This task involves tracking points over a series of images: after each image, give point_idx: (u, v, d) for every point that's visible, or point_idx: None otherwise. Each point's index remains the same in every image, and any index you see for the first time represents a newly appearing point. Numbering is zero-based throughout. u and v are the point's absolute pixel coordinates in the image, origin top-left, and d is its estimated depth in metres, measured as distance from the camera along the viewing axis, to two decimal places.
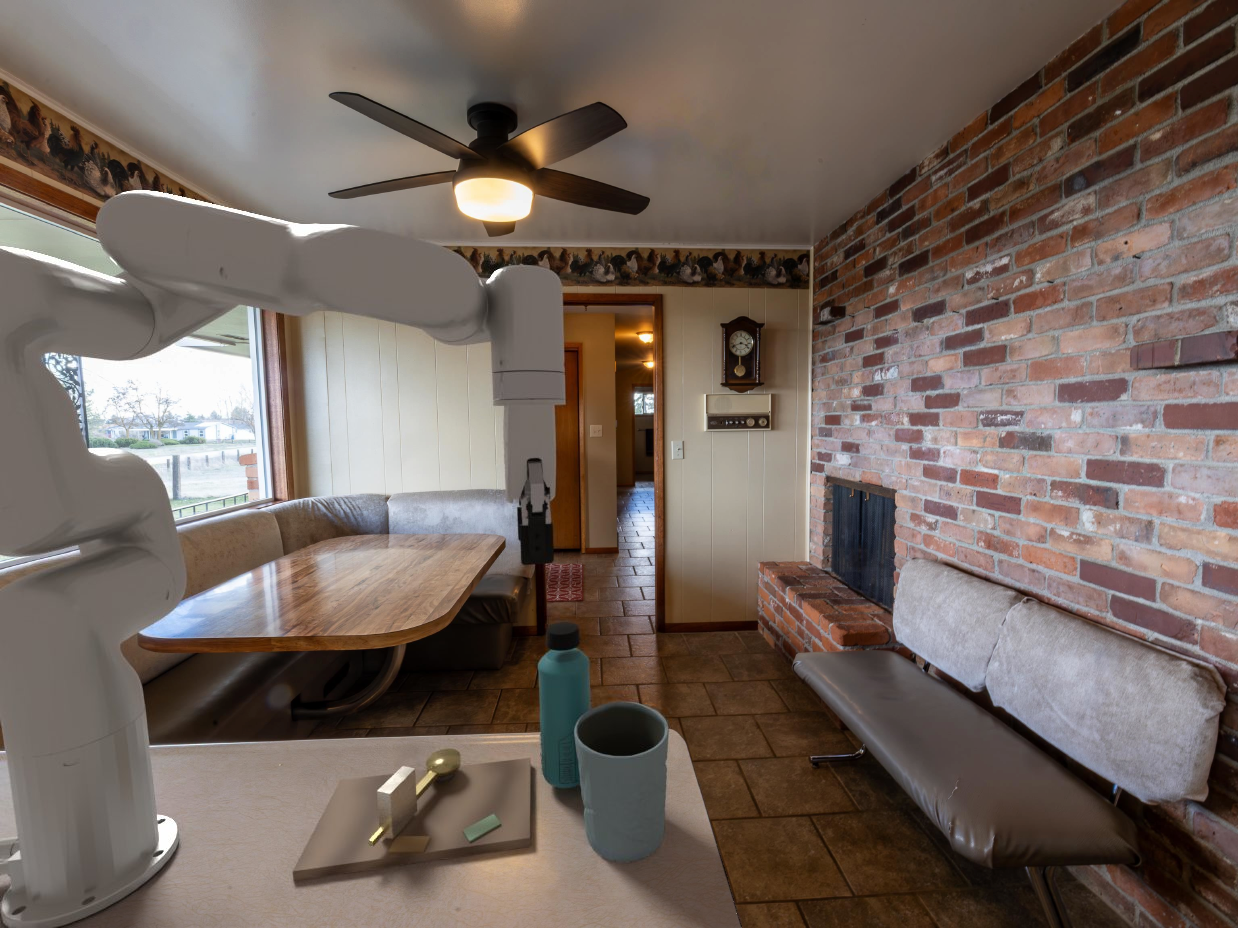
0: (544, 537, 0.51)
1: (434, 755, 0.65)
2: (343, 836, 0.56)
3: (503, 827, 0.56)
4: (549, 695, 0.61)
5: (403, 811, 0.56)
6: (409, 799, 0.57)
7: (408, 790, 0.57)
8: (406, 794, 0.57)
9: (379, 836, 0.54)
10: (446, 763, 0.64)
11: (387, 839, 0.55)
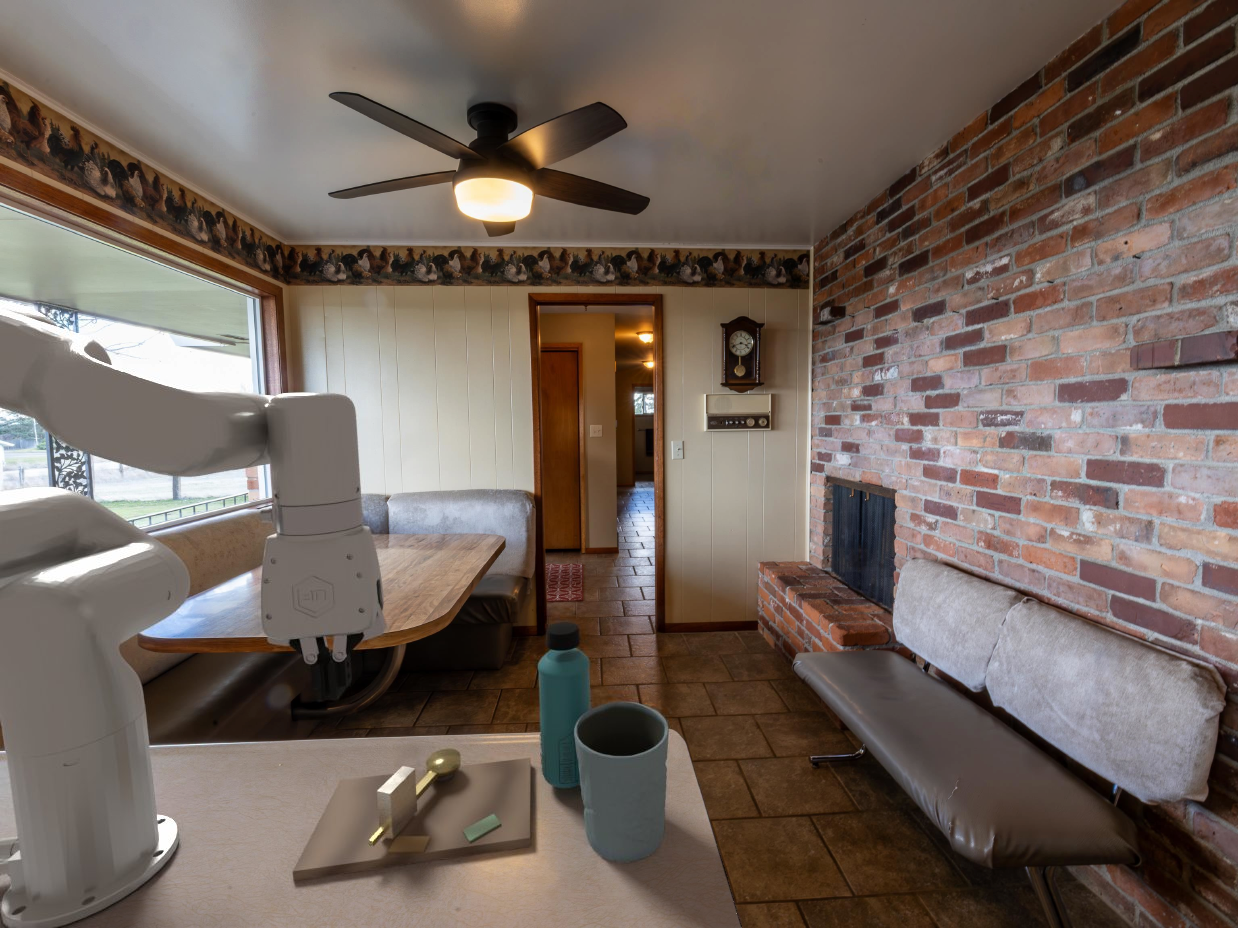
0: (350, 663, 0.55)
1: (434, 755, 0.65)
2: (343, 836, 0.56)
3: (503, 827, 0.56)
4: (549, 695, 0.61)
5: (403, 811, 0.56)
6: (409, 799, 0.57)
7: (408, 790, 0.57)
8: (406, 794, 0.57)
9: (379, 836, 0.54)
10: (446, 763, 0.64)
11: (387, 839, 0.55)
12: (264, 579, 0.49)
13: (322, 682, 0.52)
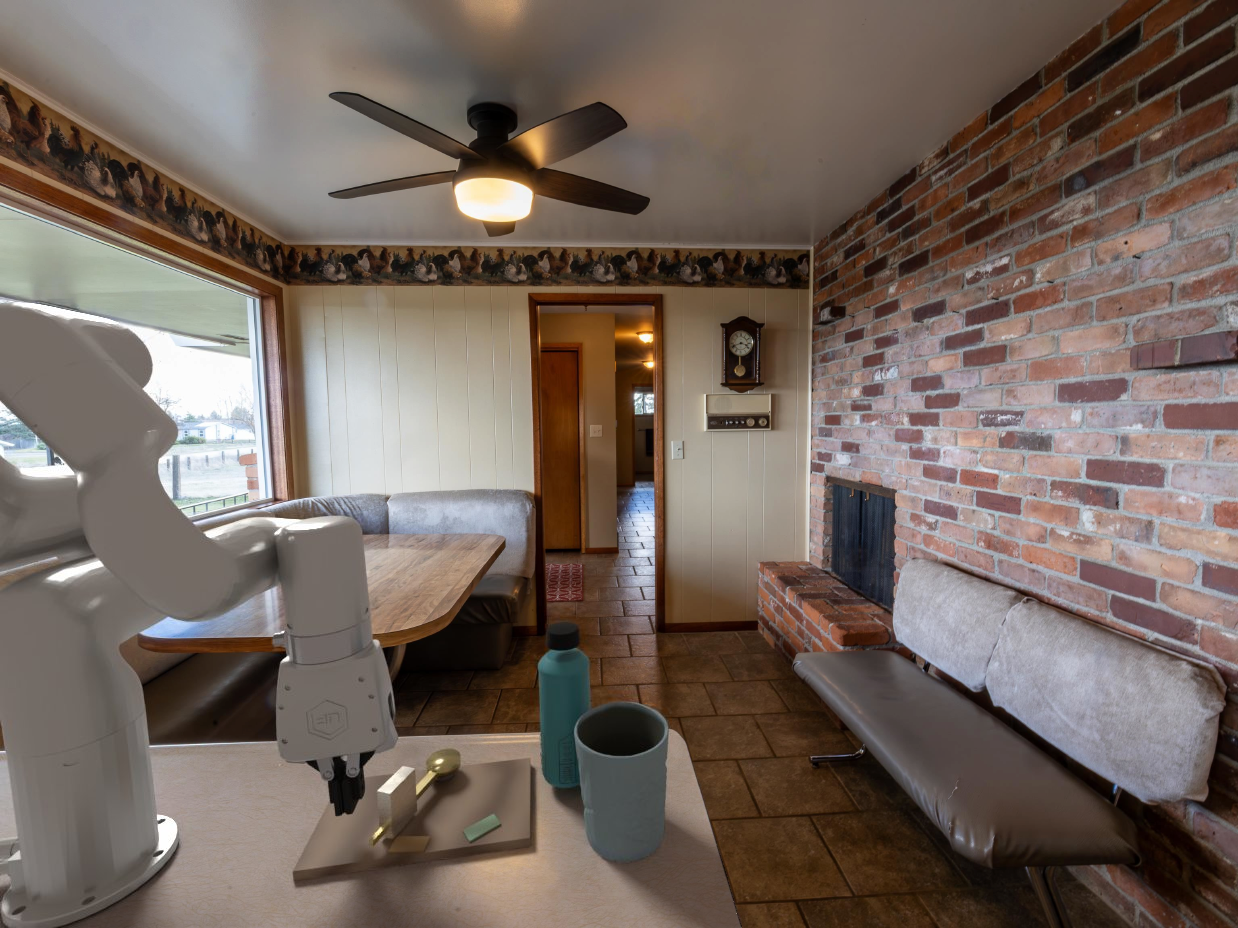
0: (363, 774, 0.56)
1: (434, 755, 0.65)
2: (343, 836, 0.56)
3: (503, 827, 0.56)
4: (549, 695, 0.61)
5: (403, 811, 0.56)
6: (409, 799, 0.57)
7: (408, 790, 0.57)
8: (406, 794, 0.57)
9: (379, 836, 0.54)
10: (446, 763, 0.64)
11: (387, 839, 0.55)
12: (279, 705, 0.51)
13: (339, 797, 0.53)
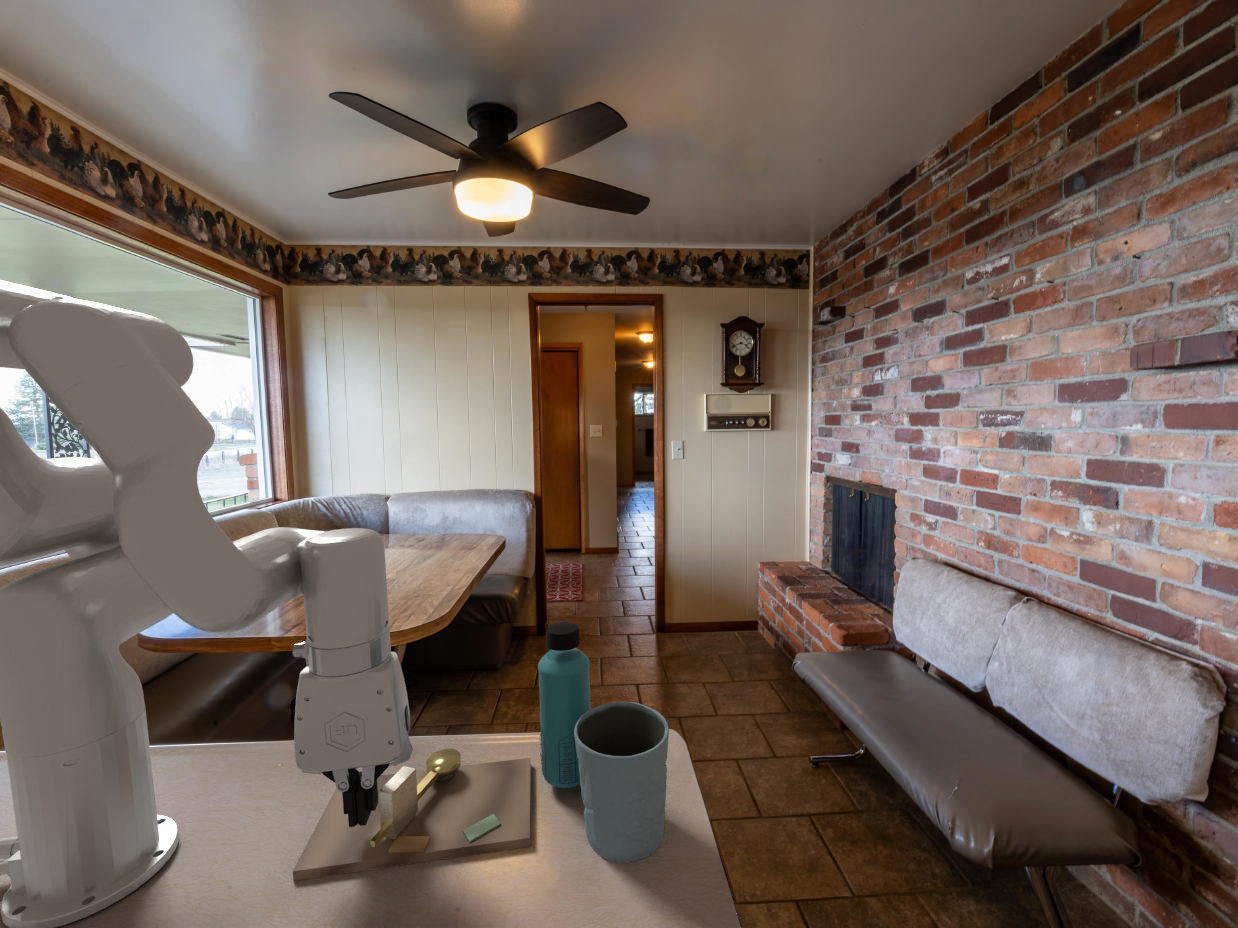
0: None
1: (434, 755, 0.65)
2: (343, 836, 0.56)
3: (503, 827, 0.56)
4: (549, 695, 0.61)
5: (404, 811, 0.56)
6: (410, 799, 0.57)
7: (409, 790, 0.57)
8: (407, 794, 0.57)
9: (381, 836, 0.53)
10: (446, 763, 0.64)
11: (387, 839, 0.55)
12: (298, 716, 0.51)
13: (353, 808, 0.54)
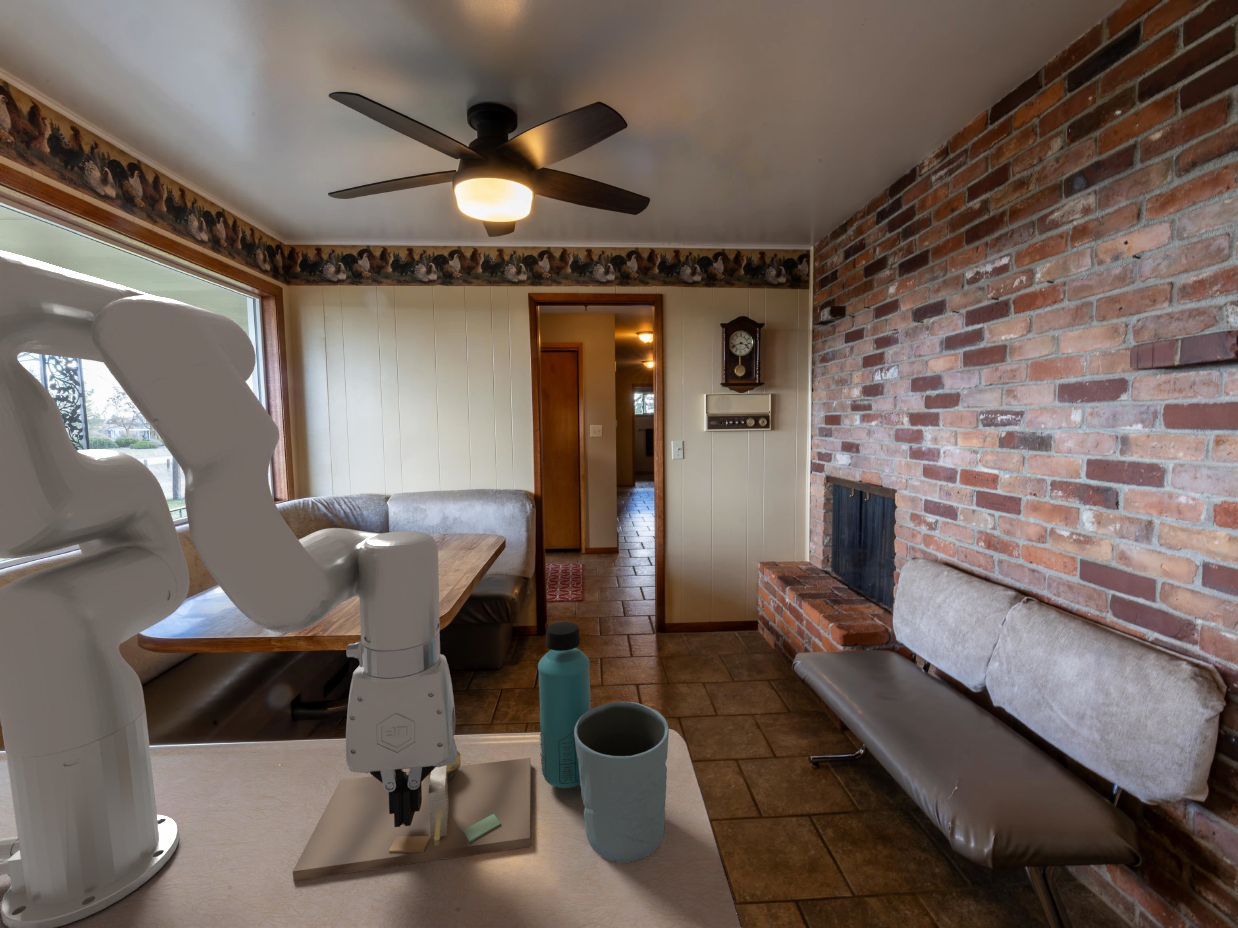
0: (421, 786, 0.57)
1: None
2: (343, 836, 0.56)
3: (503, 827, 0.56)
4: (549, 695, 0.61)
5: (446, 808, 0.57)
6: (447, 796, 0.58)
7: (446, 787, 0.57)
8: (446, 791, 0.57)
9: (440, 834, 0.54)
10: None
11: (387, 839, 0.55)
12: (350, 715, 0.52)
13: (400, 809, 0.54)
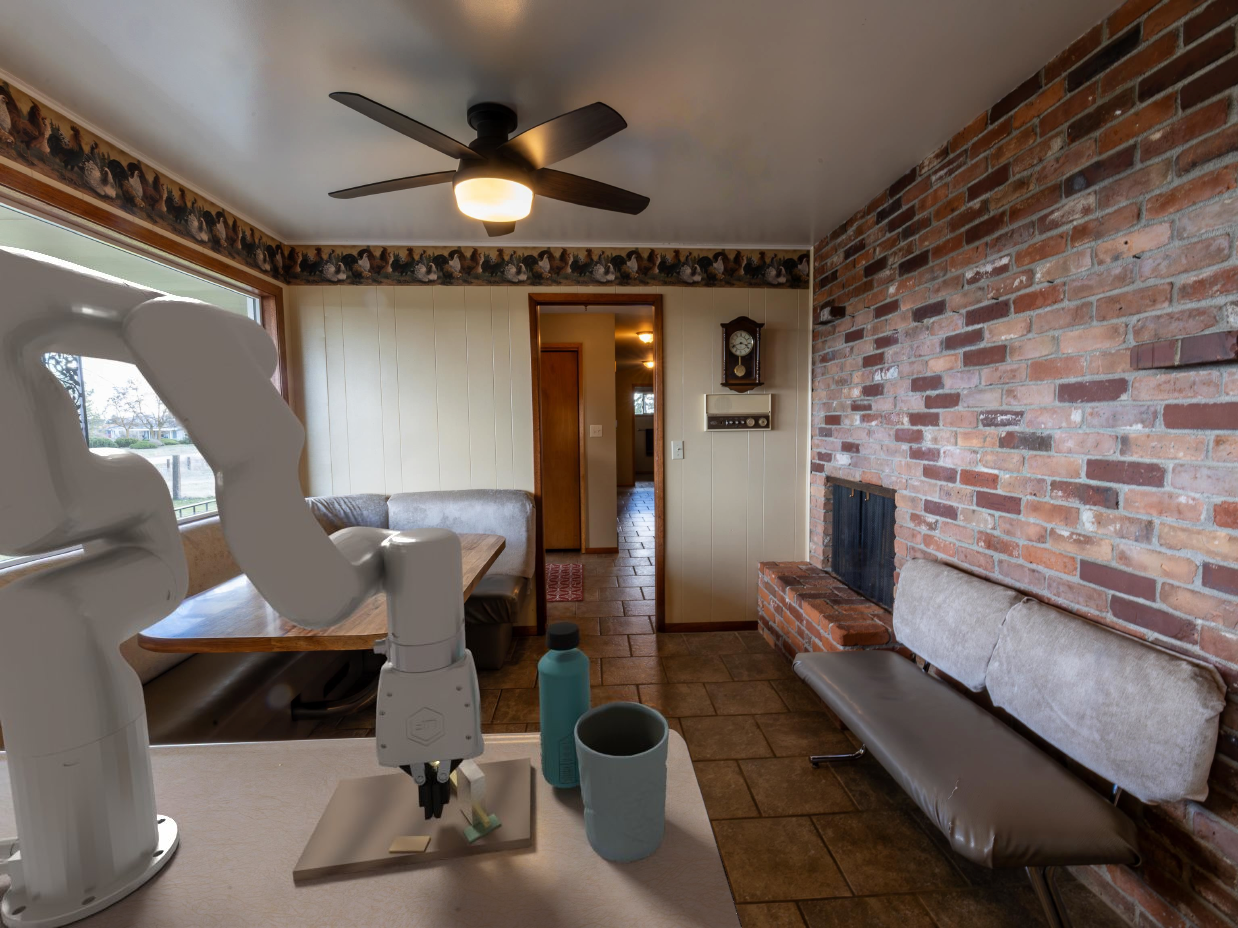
0: (449, 779, 0.57)
1: (430, 762, 0.64)
2: (343, 836, 0.56)
3: (503, 827, 0.56)
4: (549, 695, 0.61)
5: None
6: None
7: None
8: None
9: None
10: None
11: (387, 839, 0.55)
12: (380, 710, 0.52)
13: (429, 802, 0.55)
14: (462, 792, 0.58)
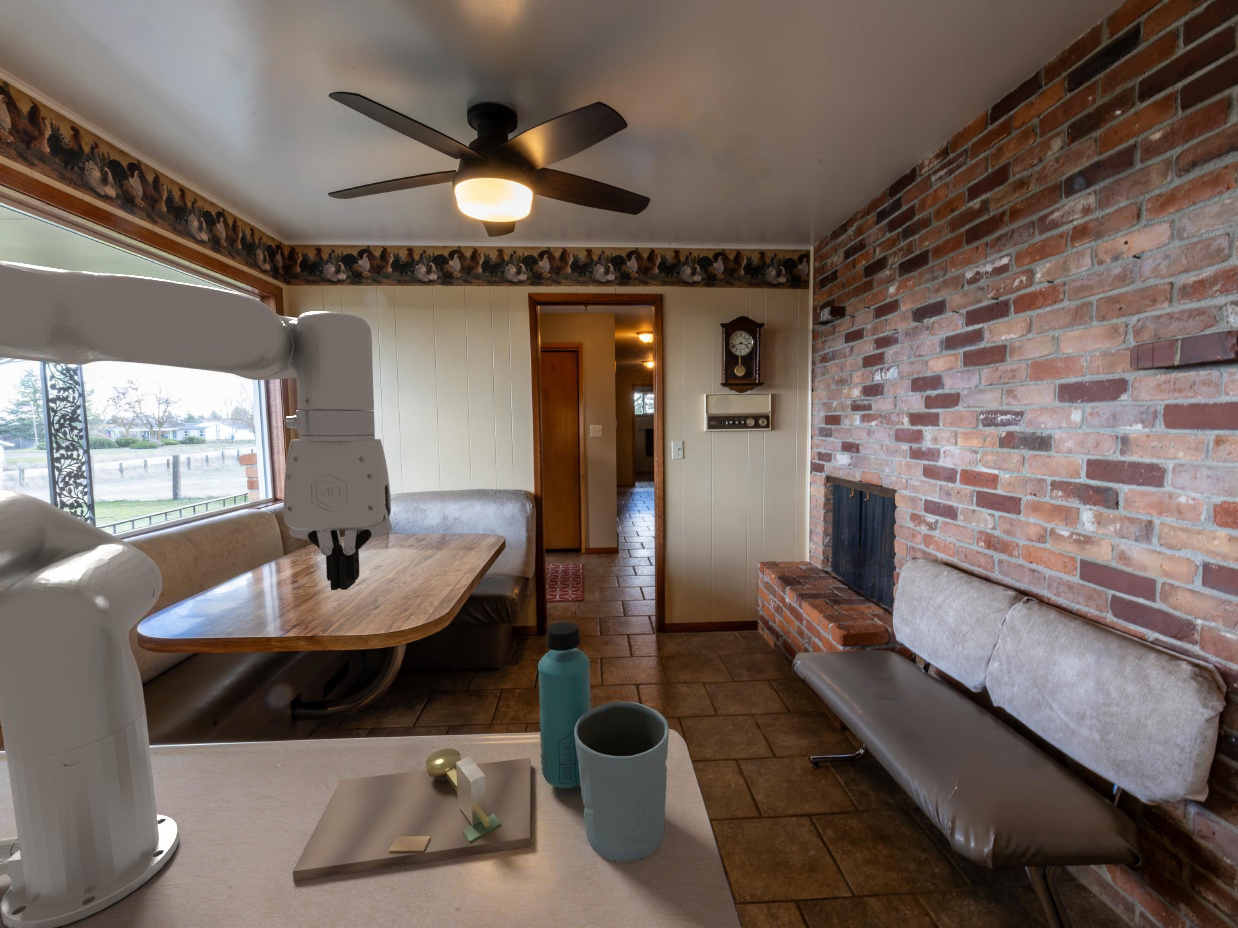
0: (358, 560, 0.61)
1: (430, 762, 0.64)
2: (343, 836, 0.56)
3: (503, 827, 0.56)
4: (549, 695, 0.61)
5: None
6: None
7: None
8: None
9: None
10: (452, 758, 0.65)
11: (387, 839, 0.55)
12: (287, 475, 0.56)
13: (335, 572, 0.59)
14: (462, 792, 0.58)
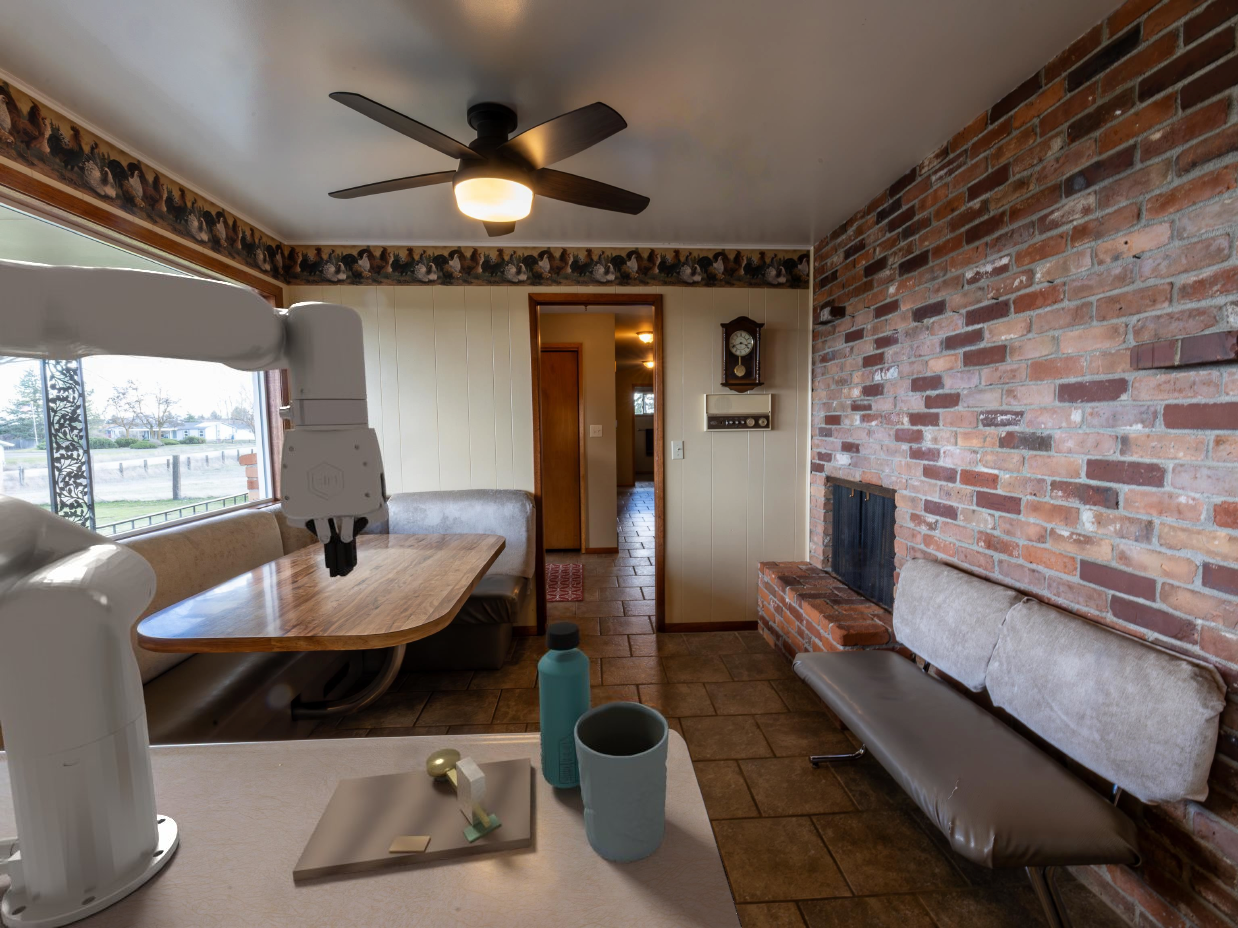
0: (356, 548, 0.62)
1: (430, 762, 0.64)
2: (343, 836, 0.56)
3: (503, 827, 0.56)
4: (549, 695, 0.61)
5: None
6: None
7: None
8: None
9: None
10: (452, 758, 0.65)
11: (387, 839, 0.55)
12: (283, 464, 0.57)
13: (334, 560, 0.60)
14: (462, 792, 0.58)
